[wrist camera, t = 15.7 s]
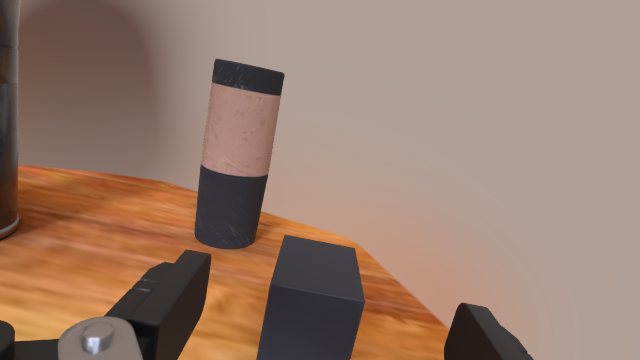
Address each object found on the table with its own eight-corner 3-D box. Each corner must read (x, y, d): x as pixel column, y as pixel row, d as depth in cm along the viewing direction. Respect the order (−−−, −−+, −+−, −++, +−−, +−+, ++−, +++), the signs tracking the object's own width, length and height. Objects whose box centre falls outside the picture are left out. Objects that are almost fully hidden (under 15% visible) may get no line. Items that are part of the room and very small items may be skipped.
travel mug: (177, 236, 41) (198, 54, 37) (215, 218, 48) (237, 64, 44) (236, 257, 39) (266, 68, 35) (267, 235, 46) (295, 76, 42)
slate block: (239, 452, 19) (270, 283, 17) (259, 367, 25) (284, 234, 23) (323, 466, 19) (365, 301, 17) (323, 379, 25) (355, 247, 23)
